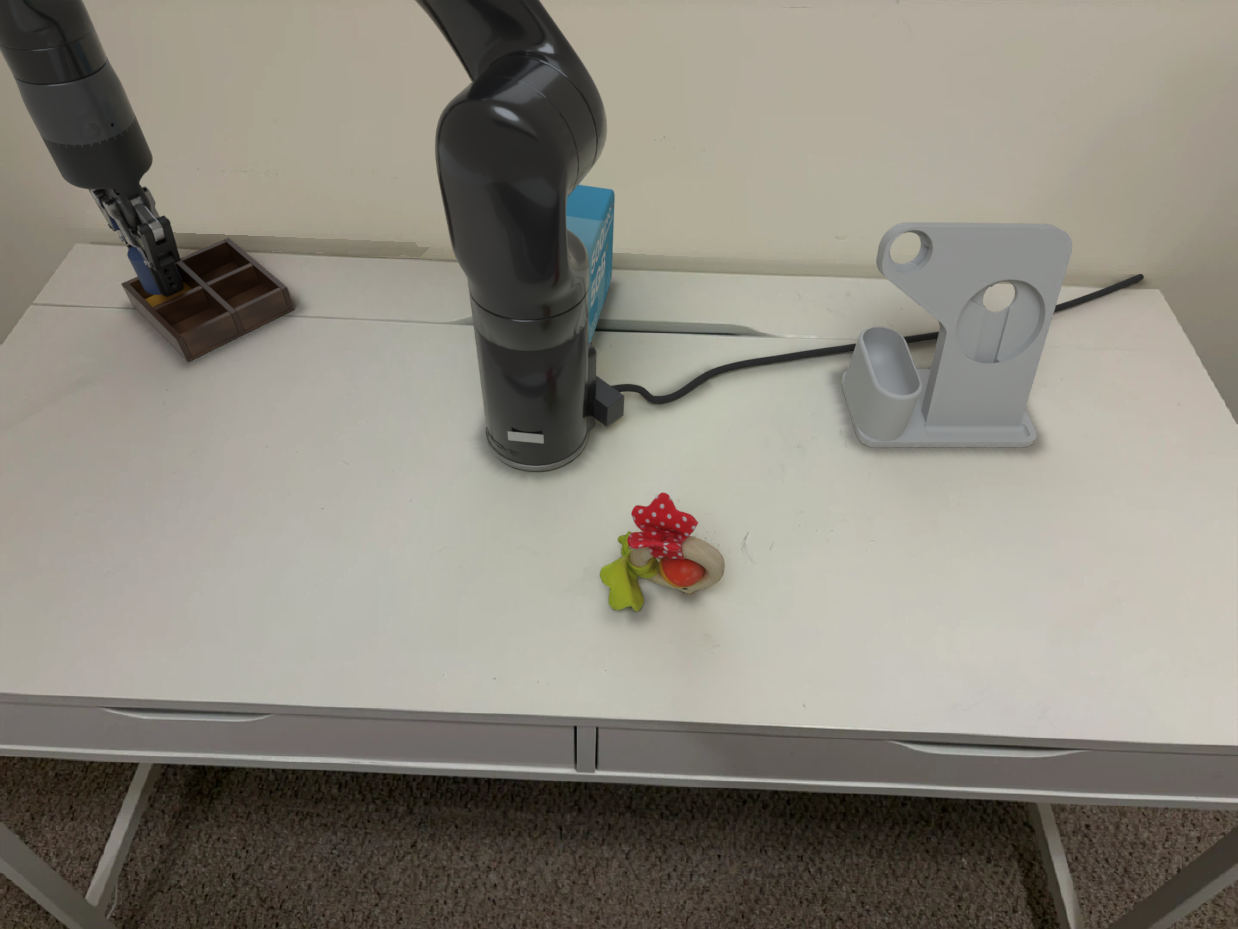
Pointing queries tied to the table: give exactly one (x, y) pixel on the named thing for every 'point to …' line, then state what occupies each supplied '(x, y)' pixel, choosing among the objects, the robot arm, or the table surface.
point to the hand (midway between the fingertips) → (162, 281)
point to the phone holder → (960, 338)
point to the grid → (212, 300)
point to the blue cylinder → (143, 271)
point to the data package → (594, 240)
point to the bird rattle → (661, 555)
